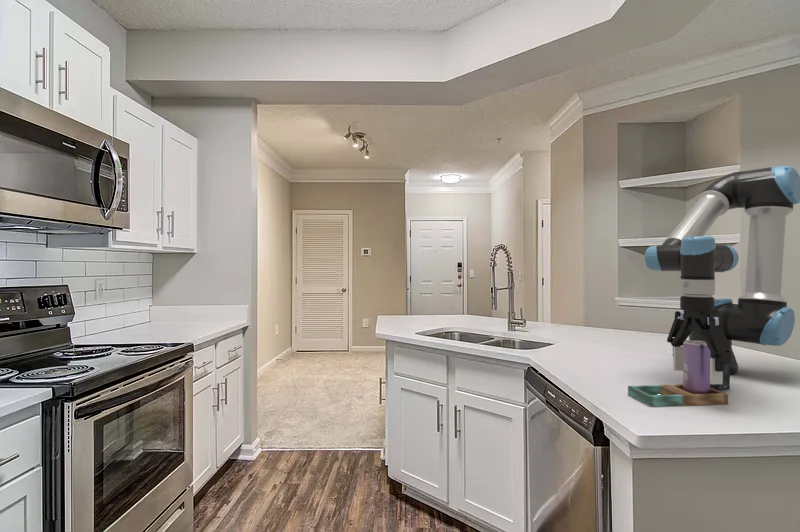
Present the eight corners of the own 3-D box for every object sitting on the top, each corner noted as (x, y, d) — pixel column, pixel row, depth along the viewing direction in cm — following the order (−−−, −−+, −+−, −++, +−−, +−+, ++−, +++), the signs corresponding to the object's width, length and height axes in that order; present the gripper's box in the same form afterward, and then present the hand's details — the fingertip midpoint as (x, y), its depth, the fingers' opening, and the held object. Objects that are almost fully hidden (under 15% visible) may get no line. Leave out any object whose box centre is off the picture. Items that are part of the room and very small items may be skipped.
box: (730, 389, 128) (730, 351, 128) (718, 392, 126) (718, 353, 126) (701, 382, 135) (701, 346, 135) (689, 384, 133) (689, 348, 133)
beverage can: (714, 403, 116) (714, 344, 116) (688, 401, 117) (688, 343, 117) (703, 396, 122) (704, 340, 122) (679, 394, 123) (679, 339, 123)
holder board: (700, 392, 125) (700, 383, 125) (728, 404, 115) (728, 394, 115) (627, 395, 123) (627, 385, 123) (649, 406, 114) (649, 396, 114)
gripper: (653, 292, 131) (653, 365, 132) (720, 300, 106) (719, 390, 107) (678, 291, 132) (677, 365, 132) (750, 299, 107) (749, 390, 107)
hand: (696, 376), depth 120 cm, fingers open, 13 cm apart
